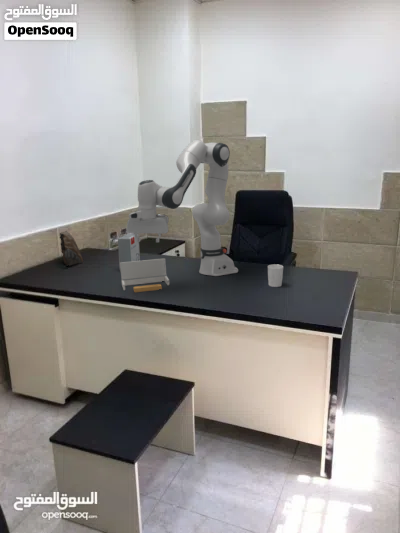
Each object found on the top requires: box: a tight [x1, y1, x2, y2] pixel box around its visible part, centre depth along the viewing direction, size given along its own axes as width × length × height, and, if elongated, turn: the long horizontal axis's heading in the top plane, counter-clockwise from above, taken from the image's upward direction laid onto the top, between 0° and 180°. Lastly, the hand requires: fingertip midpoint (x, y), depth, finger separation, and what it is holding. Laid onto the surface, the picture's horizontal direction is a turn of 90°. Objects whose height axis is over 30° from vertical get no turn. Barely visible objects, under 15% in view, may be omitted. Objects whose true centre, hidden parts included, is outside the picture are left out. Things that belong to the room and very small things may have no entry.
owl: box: [59, 230, 84, 266], centre depth 268 cm, size 13×13×20 cm
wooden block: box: [133, 283, 163, 293], centre depth 214 cm, size 14×3×2 cm, turn 105°
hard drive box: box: [117, 233, 141, 272], centre depth 251 cm, size 16×8×20 cm, turn 168°
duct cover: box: [119, 258, 167, 281], centre depth 223 cm, size 24×9×1 cm
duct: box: [121, 275, 170, 291], centre depth 221 cm, size 24×8×3 cm, turn 105°
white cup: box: [267, 263, 284, 288], centre depth 215 cm, size 8×8×10 cm
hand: (148, 242), depth 208 cm, fingers open, 8 cm apart
